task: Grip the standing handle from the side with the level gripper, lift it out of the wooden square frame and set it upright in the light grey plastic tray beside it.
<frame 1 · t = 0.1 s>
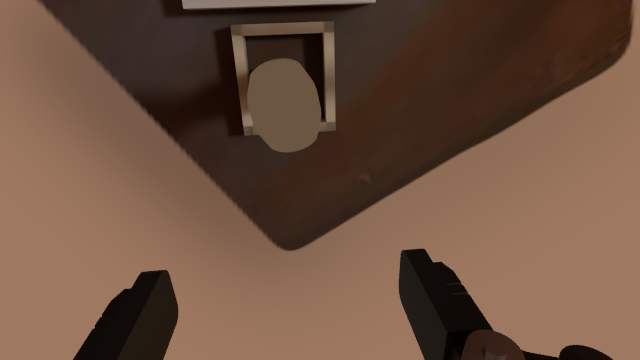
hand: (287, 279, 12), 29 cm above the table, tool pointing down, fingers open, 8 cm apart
wooden square frame: (286, 78, 37), on the table
handle: (286, 78, 38), resting in wooden square frame
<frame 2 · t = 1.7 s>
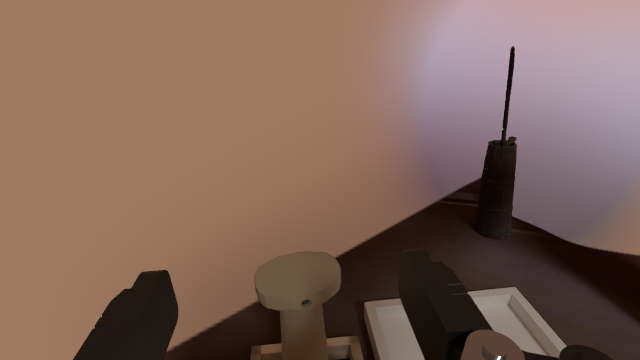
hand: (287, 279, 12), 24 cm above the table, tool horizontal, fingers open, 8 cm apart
butter churn: (494, 228, 57), on the table
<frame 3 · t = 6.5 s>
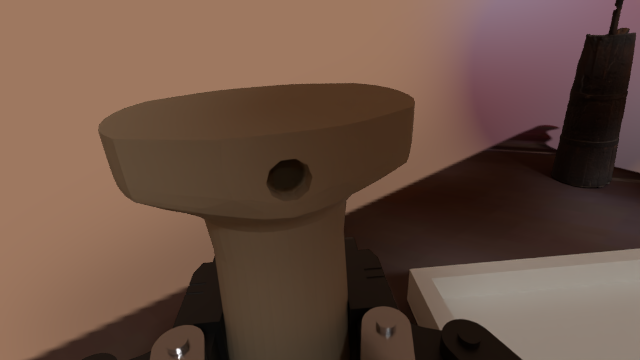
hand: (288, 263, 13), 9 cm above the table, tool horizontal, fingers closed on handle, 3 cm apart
butter churn: (581, 177, 38), on the table
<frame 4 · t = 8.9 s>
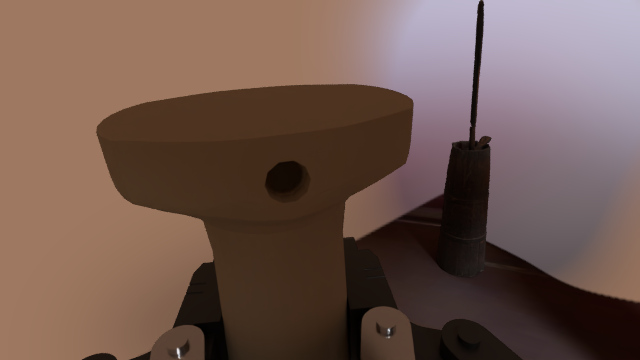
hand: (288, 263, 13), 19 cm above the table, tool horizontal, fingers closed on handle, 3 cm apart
butter churn: (463, 260, 42), on the table
when the fingers open (10 cm above the table, at t = 11.3 s): handle stays where it is, resting on tray.
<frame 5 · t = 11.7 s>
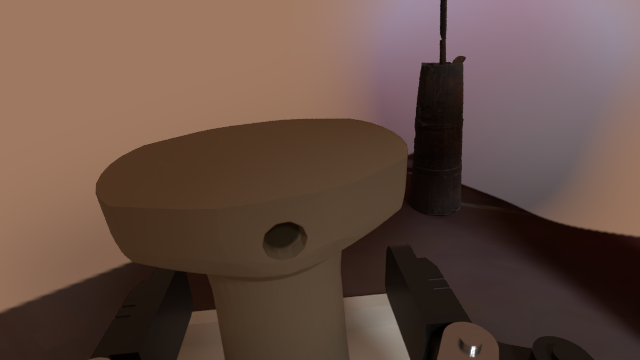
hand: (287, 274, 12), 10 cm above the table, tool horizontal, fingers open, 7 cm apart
butter churn: (439, 202, 38), on the table
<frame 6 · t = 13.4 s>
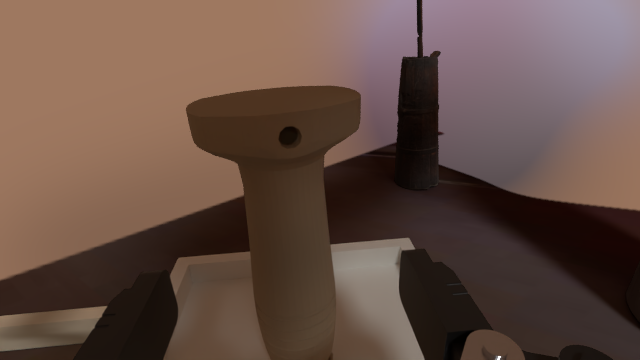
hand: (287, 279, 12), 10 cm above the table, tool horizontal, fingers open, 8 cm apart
butter churn: (420, 180, 43), on the table
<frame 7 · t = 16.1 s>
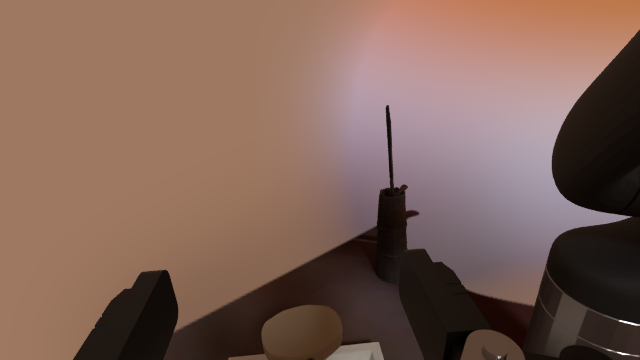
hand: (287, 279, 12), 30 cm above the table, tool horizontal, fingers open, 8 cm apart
butter churn: (395, 270, 58), on the table
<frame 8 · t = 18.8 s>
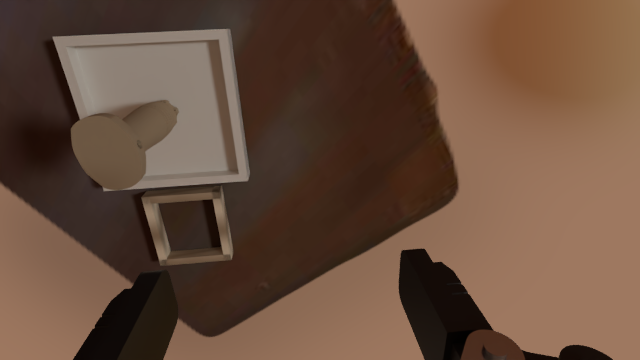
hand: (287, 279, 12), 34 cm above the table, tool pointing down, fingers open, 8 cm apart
tray: (167, 111, 42), on the table
wooden square frame: (192, 222, 49), on the table
handle: (166, 112, 42), point 1 cm above the table, touching tray
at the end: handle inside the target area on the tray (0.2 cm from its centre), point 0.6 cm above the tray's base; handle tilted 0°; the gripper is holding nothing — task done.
